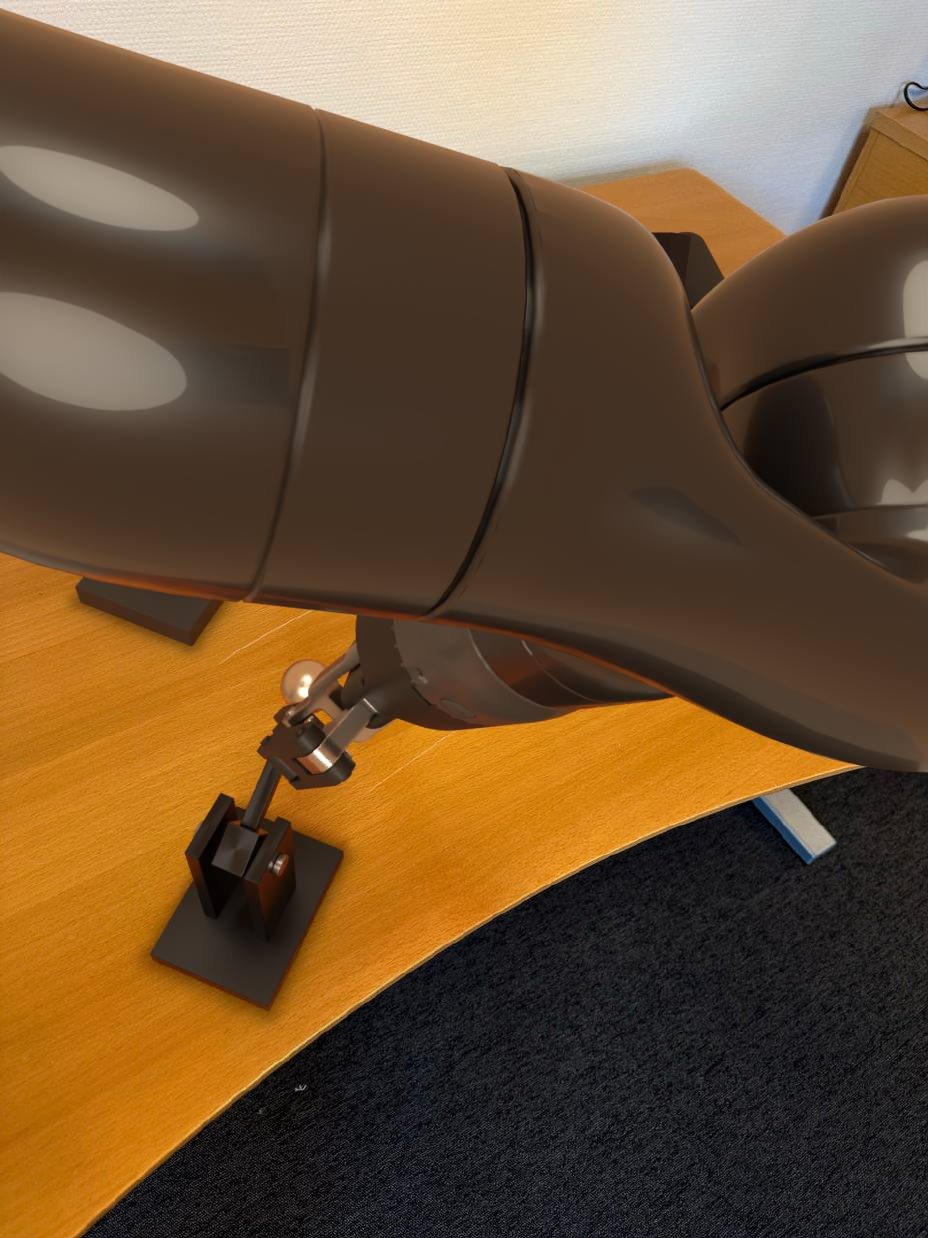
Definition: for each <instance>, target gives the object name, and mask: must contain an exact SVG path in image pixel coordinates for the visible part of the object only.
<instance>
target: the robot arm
mask: <svg viewBox="0 0 928 1238" xmlns="http://www.w3.org/2000/svg"><path fill="white" fill-rule="evenodd" d="M651 232H652V231H650V229H648V228H647V227H646V226H645V225H644V224H643V223H642V222H641V221H640V220H639V219H637V218H636V217H634V216H632V215H631V214H629V213H628V212H626V211H624V210H623V209H621V208H619V207H617V206H616V205H614V204H612V203H610V202H608V201H606V200H604V199H601V198H599V197H597V196H594V195H592V194H590V193H588V192H585V191H583V190H582V189H581V190H580V189H579V188H575V187H573V186H569V185H567V184H564V183H561V182H558V181H555V180H553V179H549V178H546V177H543V176H539V175H536V174H533V173H529V172H526V171H523V170H520V169H517V168H514V167H509V166H503V165H499V164H498V163H496V162H493V161H489V160H486V159H483V158H480V157H477V156H473V155H471V154H467V153H464V152H461V151H457V150H454V149H451V148H448V147H444V146H441V145H439V144H434V143H431V142H428V141H425V140H423V139H422V140H421V139H418V138H415V137H412V136H409V135H405V134H402V133H399V132H396V131H394V130H389V129H386V128H383V127H381V126H380V127H379V126H376V125H373V124H370V123H367V122H363V121H361V120H357V119H354V118H350V117H347V116H344V115H341V114H337V113H334V112H331V111H328V110H324V109H322V108H318V107H315V108H313V107H312V106H311V105H310V104H306V103H304V102H303V103H302V102H300V101H296V100H293V99H289V98H286V97H283V96H279V95H276V94H274V93H270V92H267V91H263V90H261V89H257V88H254V87H250V86H247V85H244V84H241V83H237V82H234V81H230V80H228V79H225V78H221V77H218V76H214V75H211V74H208V73H204V72H201V71H198V70H194V69H191V68H188V67H185V66H182V65H178V64H175V63H171V62H168V61H164V60H162V59H160V58H155V57H152V56H149V55H146V54H143V53H140V52H136V51H133V50H130V49H127V48H124V47H121V46H117V45H114V44H111V43H107V42H104V41H102V40H98V39H95V38H92V37H89V36H86V35H84V34H80V33H77V32H74V31H72V30H71V31H70V30H68V29H64V28H62V27H58V26H55V25H52V24H49V23H46V22H43V21H40V20H38V19H33V18H31V17H27V16H25V15H22V14H18V13H16V12H13V11H10V10H7V9H4V8H1V7H0V553H1V554H4V555H7V556H9V557H13V558H16V559H19V560H22V561H25V562H27V563H30V564H33V565H36V566H39V567H43V568H46V569H47V568H48V569H51V570H55V571H59V572H63V573H65V574H71V575H73V576H74V575H75V576H78V577H81V578H83V577H85V578H89V579H93V580H97V581H100V582H106V583H111V584H117V585H123V586H128V587H134V588H139V589H145V590H151V591H156V592H162V593H168V594H175V595H183V596H190V597H198V598H206V599H214V600H222V601H223V602H231V603H239V602H241V601H242V603H244V604H245V603H246V604H253V605H254V604H255V605H264V606H271V607H281V608H282V607H283V608H290V609H299V610H308V611H318V612H327V613H335V614H345V615H354V616H356V619H355V628H354V629H355V631H354V632H355V638H354V640H353V641H352V643H350V645H349V647H348V648H347V649H346V651H345V652H344V653H343V654H342V655H341V656H339V657H338V658H337V659H335V660H334V661H333V662H332V663H330V664H329V665H327V666H328V667H327V668H325V669H324V670H323V671H322V672H320V673H319V675H318V676H317V678H316V679H315V680H314V682H313V683H312V685H311V686H310V687H309V689H308V697H306V698H305V699H304V700H303V701H301V702H298V703H294V704H290V705H287V704H286V705H283V706H282V707H280V709H279V710H278V711H277V712H275V714H274V715H273V716H272V718H273V720H274V721H275V723H276V726H274V728H273V729H272V731H271V732H272V733H271V734H267V735H266V736H265V737H263V738H262V739H261V741H260V742H259V744H260V745H259V746H258V748H257V749H256V753H257V754H258V755H259V756H260V757H261V758H262V759H264V760H266V761H268V762H269V763H270V764H271V765H272V766H274V767H275V768H276V769H277V770H278V771H279V772H280V773H281V774H282V777H284V778H285V779H286V780H287V781H288V784H289V785H290V786H291V787H292V788H293V789H295V790H296V791H299V790H300V791H301V790H311V789H323V788H331V787H337V786H339V785H341V784H342V783H345V782H347V780H349V779H350V778H351V776H352V775H353V771H354V770H355V768H356V766H357V763H356V762H355V761H354V760H353V754H351V752H350V751H349V750H348V749H347V748H349V746H350V745H351V744H352V743H357V744H363V743H365V742H367V741H368V740H369V739H371V738H373V736H375V735H377V734H378V733H380V732H381V731H383V730H384V729H385V728H387V727H388V726H389V725H391V724H392V723H394V722H395V721H396V720H401V721H403V722H406V723H409V724H411V725H414V726H419V727H421V728H425V729H429V730H433V731H442V732H453V731H455V732H456V731H466V730H475V729H484V728H495V727H504V726H505V727H506V726H515V725H525V724H533V723H534V724H535V723H542V722H546V721H550V720H555V719H558V718H561V717H564V716H567V715H569V714H573V713H575V712H577V711H580V710H588V709H599V708H605V707H615V706H624V705H633V704H642V703H652V702H657V701H662V700H663V701H664V700H668V699H673V698H678V699H680V700H682V701H685V702H687V703H689V704H691V705H693V706H695V707H697V708H700V709H702V710H704V711H706V712H708V713H711V714H713V715H715V716H717V717H718V718H720V719H723V720H725V721H728V722H730V723H732V724H734V725H737V726H739V727H741V728H743V729H746V730H748V731H749V732H752V733H755V734H757V735H759V736H761V737H765V738H767V739H770V740H773V741H775V742H777V743H781V744H784V745H786V746H789V747H792V748H795V749H798V750H800V751H803V752H806V753H809V754H811V755H814V756H819V757H822V758H825V759H829V760H833V761H836V762H837V761H838V762H840V763H841V762H842V763H846V764H850V765H855V766H859V767H865V768H871V769H877V770H886V771H896V772H905V773H906V772H907V773H928V193H924V194H914V195H912V194H911V195H902V196H897V197H889V198H885V199H880V200H876V201H872V202H869V203H865V204H861V205H858V206H856V207H852V208H850V209H846V210H844V211H841V212H838V213H836V214H833V215H829V216H826V217H823V218H821V219H819V220H816V221H815V222H811V223H810V224H807V225H805V226H804V227H802V228H800V229H798V230H796V231H793V232H792V233H790V234H788V235H786V236H785V237H784V238H782V239H780V240H778V241H777V242H775V243H773V244H771V245H770V246H769V247H767V248H765V249H764V250H762V251H760V252H759V253H757V254H756V255H754V256H752V257H751V258H749V259H748V260H746V261H745V262H744V263H743V264H741V265H740V266H738V267H737V268H736V269H734V270H733V271H731V273H729V274H728V275H727V276H726V277H724V278H725V279H724V280H723V281H721V282H720V283H719V284H718V285H717V286H716V287H715V288H713V289H712V290H711V291H710V292H709V293H708V294H707V295H706V296H704V297H703V298H702V299H701V300H700V301H699V302H698V303H697V304H696V306H695V307H694V308H693V309H692V310H691V309H690V306H689V302H688V299H687V295H686V292H685V290H684V287H683V285H682V282H681V280H680V277H679V275H678V273H677V271H676V269H675V267H674V266H673V264H672V262H671V260H670V259H669V257H668V255H667V254H666V252H665V251H664V249H663V248H662V246H661V245H660V244H659V242H658V241H657V239H656V238H655V237H654V235H653V234H652V233H651ZM346 674H347V676H346V679H345V681H344V684H343V686H342V684H340V682H339V680H340V679H341V678H342V677H343V676H345V675H346ZM317 709H320V710H322V712H324V713H325V714H326V715H327V716H328V717H329V718H330V719H331V721H329V722H326V723H325V724H324V722H323V721H322V720H320V718H318V716H317V715H316V714H313V713H312V712H314V711H315V710H317Z"/></svg>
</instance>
